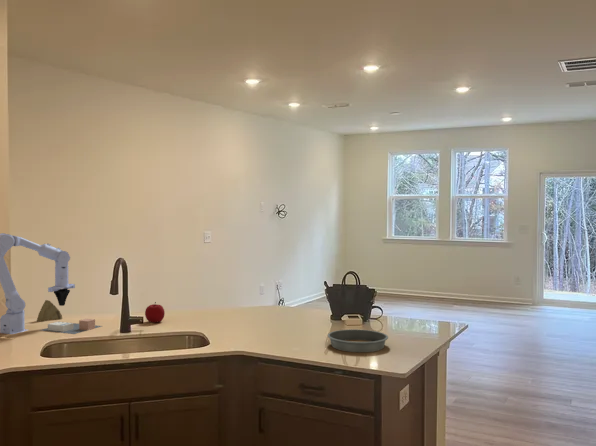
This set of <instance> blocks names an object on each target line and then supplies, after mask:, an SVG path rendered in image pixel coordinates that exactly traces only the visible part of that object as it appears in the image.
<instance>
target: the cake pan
mask: <svg viewBox="0 0 596 446" xmlns="http://www.w3.org/2000/svg"><path fill="white" fill-rule="evenodd" d="M327 338H329V340H330V344H331V347H333V349H336V350H339V351H343V352H351V353H371V352H372V353H373V352H377V351H381V350H383V349H384V348H385V343H386V341H388V339H389V336H388V335H387V334H386V333H384V332H382V331H381V332H380V331H376V330H375V331H374V330H370V329H369V330H368V329H354V328H353V329H339V330H333V331H331V332H329V333H328V334H327ZM351 340H352V341H351ZM353 340H354V341H353ZM355 340H356V341H355Z"/></svg>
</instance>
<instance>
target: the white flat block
mask: <svg viewBox="0 0 596 446" xmlns="http://www.w3.org/2000/svg"><path fill="white" fill-rule="evenodd" d="M47 328H48V330H53V331H63V332H64V331H68V330H71V329H73V322H66V321H65V322H64V321H56V322H55V321H54V322H52V323H51V322H50V323H47Z"/></svg>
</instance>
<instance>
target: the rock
mask: <svg viewBox="0 0 596 446" xmlns="http://www.w3.org/2000/svg"><path fill="white" fill-rule="evenodd" d="M36 318H37V319H36V322H47V321H56V320H59V321H60V320H62V319H63V316H62V313H61V311H60V310H59V309H58V307H56V305H54V303H53V302H52V301H50V300H47V299H46V300H45V301H44V303H43V304H42V306H41V308H40V311H39V312H38V316H37V317H36Z"/></svg>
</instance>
